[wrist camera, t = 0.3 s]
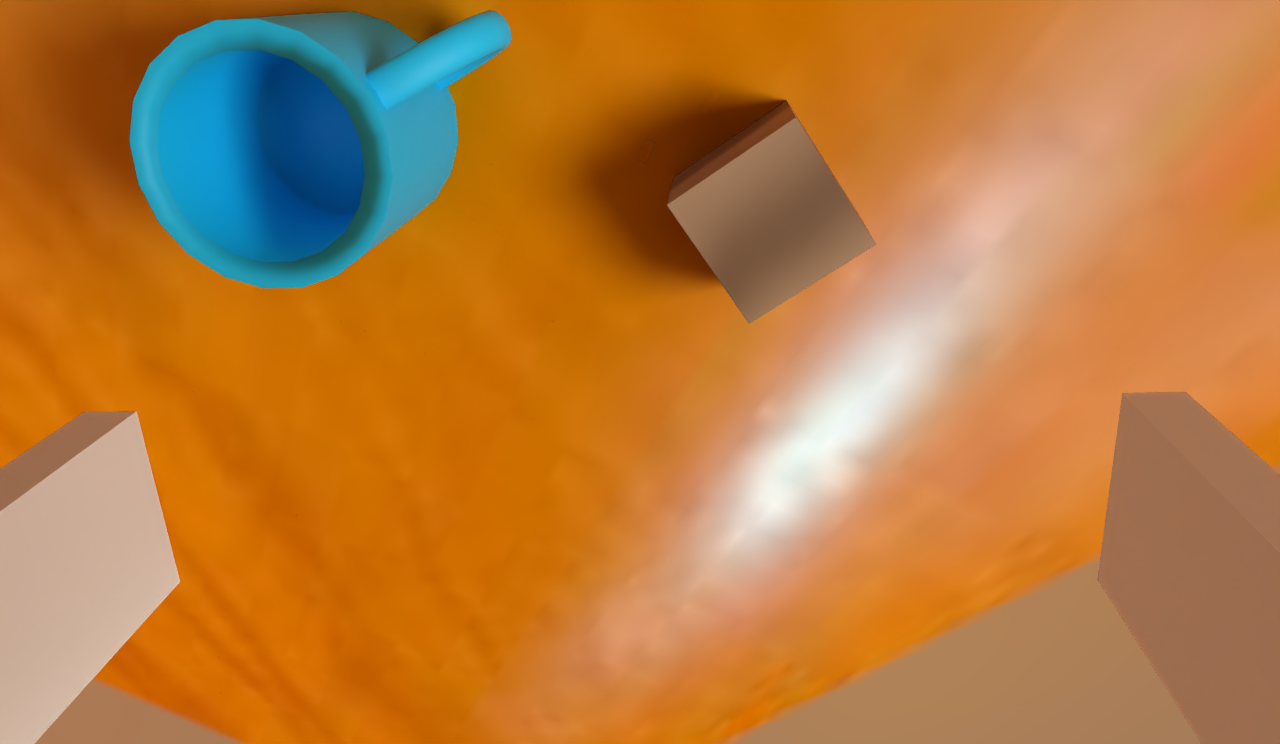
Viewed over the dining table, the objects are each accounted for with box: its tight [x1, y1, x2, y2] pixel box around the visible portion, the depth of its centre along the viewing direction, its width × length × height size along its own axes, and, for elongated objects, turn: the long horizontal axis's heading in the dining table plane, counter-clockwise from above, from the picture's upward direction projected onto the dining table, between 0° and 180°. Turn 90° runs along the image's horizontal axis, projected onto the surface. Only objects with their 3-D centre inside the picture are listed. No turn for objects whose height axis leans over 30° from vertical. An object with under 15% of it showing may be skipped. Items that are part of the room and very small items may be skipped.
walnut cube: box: [667, 100, 876, 324], centre depth 35 cm, size 5×5×5 cm
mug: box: [129, 10, 511, 288], centre depth 34 cm, size 12×8×8 cm
